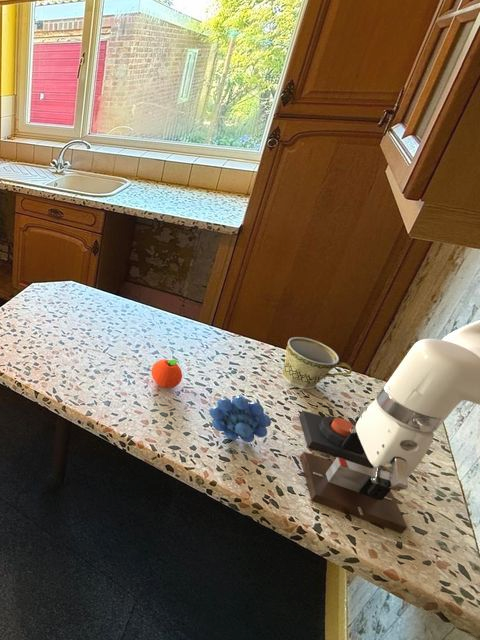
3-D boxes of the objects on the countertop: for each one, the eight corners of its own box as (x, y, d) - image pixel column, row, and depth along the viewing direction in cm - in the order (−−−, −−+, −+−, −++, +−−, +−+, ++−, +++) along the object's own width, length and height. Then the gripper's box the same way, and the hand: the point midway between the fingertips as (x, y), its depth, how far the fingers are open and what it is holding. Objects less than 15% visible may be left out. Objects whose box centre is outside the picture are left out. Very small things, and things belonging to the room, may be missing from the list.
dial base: (378, 480, 79) (384, 474, 78) (403, 538, 70) (410, 531, 69) (298, 454, 84) (302, 447, 83) (312, 504, 75) (317, 498, 74)
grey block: (374, 490, 75) (388, 472, 73) (378, 499, 74) (393, 482, 71) (325, 473, 78) (337, 456, 76) (328, 482, 76) (340, 464, 74)
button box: (359, 435, 88) (367, 422, 86) (374, 469, 81) (383, 456, 79) (298, 416, 92) (305, 404, 90) (307, 447, 85) (315, 435, 83)
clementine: (162, 368, 106) (168, 347, 103) (186, 385, 101) (194, 364, 97) (142, 380, 102) (148, 359, 99) (167, 398, 97) (174, 376, 94)
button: (349, 427, 86) (353, 421, 85) (354, 440, 83) (358, 434, 82) (328, 420, 87) (331, 415, 86) (333, 433, 84) (336, 427, 83)
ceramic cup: (271, 381, 102) (286, 351, 97) (276, 360, 109) (290, 331, 104) (336, 408, 95) (356, 377, 90) (337, 383, 101) (355, 353, 97)
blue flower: (205, 448, 85) (222, 409, 79) (198, 422, 91) (214, 384, 85) (267, 462, 82) (290, 422, 77) (256, 435, 88) (276, 396, 82)
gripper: (469, 460, 57) (406, 526, 66) (416, 380, 71) (369, 443, 79) (401, 439, 60) (348, 505, 68) (362, 366, 74) (322, 428, 82)
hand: (359, 471), depth 74 cm, fingers open, 9 cm apart
